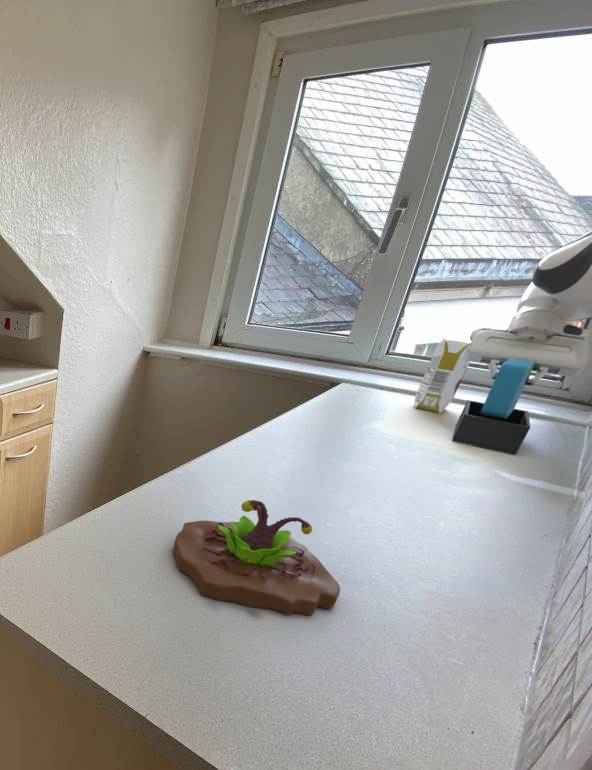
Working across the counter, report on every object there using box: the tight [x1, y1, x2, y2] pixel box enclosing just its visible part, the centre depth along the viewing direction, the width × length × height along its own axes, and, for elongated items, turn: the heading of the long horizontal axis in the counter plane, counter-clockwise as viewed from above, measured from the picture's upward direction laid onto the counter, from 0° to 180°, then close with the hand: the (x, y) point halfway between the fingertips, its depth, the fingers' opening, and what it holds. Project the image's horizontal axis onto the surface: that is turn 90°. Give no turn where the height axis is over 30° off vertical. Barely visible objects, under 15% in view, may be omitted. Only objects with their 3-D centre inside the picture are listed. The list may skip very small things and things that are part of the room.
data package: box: [481, 358, 535, 419], centre depth 126 cm, size 12×4×12 cm, turn 130°
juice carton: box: [413, 335, 471, 414], centre depth 148 cm, size 8×9×19 cm
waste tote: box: [451, 400, 531, 456], centre depth 130 cm, size 11×16×7 cm
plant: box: [172, 499, 341, 616], centre depth 76 cm, size 20×20×11 cm
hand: (512, 381), depth 127 cm, fingers closed on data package, 5 cm apart
